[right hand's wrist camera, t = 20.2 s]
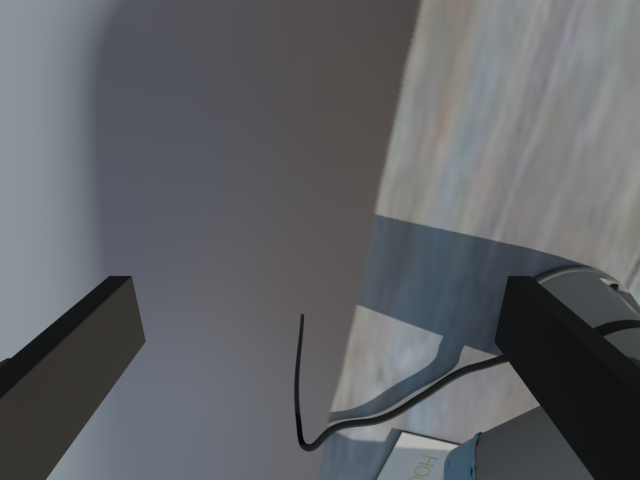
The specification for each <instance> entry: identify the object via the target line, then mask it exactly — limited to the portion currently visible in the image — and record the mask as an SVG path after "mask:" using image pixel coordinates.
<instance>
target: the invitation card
mask: <svg viewBox="0 0 640 480" xmlns="http://www.w3.org/2000/svg"><path fill="white" fill-rule="evenodd" d="M458 446H460V445H457V444H453V443H449V442H445V441H440V440H436V439H432V438H428V437H423V436H419V435H415V434H411V433H406V432H402V433H401V435H400V436H399V438H398V440H397V442H396V444H395V446H394V448H393V449H392V451H391V453H390V455H389V457H388V459H387V461H386V462H385V464H384V466H383V468H382V470H381V472H380V474H379V475H378V477H377V479H376V480H443V477H444V463H445V459H446V457H447V455H448V454H449V453H450V451H451V450H453V449H454V448H456V447H458Z"/></svg>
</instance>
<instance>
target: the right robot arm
mask: <svg viewBox="0 0 640 480" xmlns="http://www.w3.org/2000/svg"><path fill="white" fill-rule="evenodd" d="M303 329H304V314H301V318H300V330H299V339H298V348H297V356H296V366H295V379H294V405H295V417H296V428H297V437H298V442H299V445H300V447H301V448H302V449H304V450H305V451H309V452H310V451H313V450H315V449H317V448H318V447H319V446H320V445H321V444H322V443H323V442H324V441H325V440H326V439H327V438H328V437H329V436H330V435H331V434H333V433H334V432H336V431H339V430H342V429H346V428H352V427H361V426H370V425H376V424H380V423H383V422H386V421H388V420H390V419H393V418H395V417H397V416H399V415H400V414H402V413H404V412H405V411H407V410H409V409H410V408H412V407H413V406H415V405H416V404H418V403H420V402H421V401H423V400H425V399H426V398H428V397H429V396H431V395H433V394H434V393H436V392H437V391H438V390H440V389H441V388H443V387H444V386H446V385H447V384H449V383H450V382H452V381H454V380H456V379H457V378H459V377H461V376H463V375H466V374H468V373H471V372H474V371H478V370H482V369H486V368H489V367H493V366H496V365H499V364H502V363H505V362H508V361H509V362H510V364H511V365H512V367H513V368H514V369H515V371H516V372H517V374H518V375H519V376H520V378H521V379H522V380H523V382H524V383H525V385H526V386H527V387H528V389H529V390H530V391H531V393H532V394H533V396H534V397H535V398H536V400H537V401H538V403H539V404H540V406H538V407H536V408H534V409H532V410H530V411H528V412H526V413H524V414H522V415H520V416H517V417H515V418H513V419H511V420H509V421H507V422H505V423H503V424H501V425H499V426H497V427H494V428H492V429H490V430H488V431H486V432H484V433H482V432H479V433H477V434H475V435H474V437H473V438H472V439H470V440H469V441H467V442H465V443H463V444H461V445H460V446H458V447H456V448H454V449H453V450H451V451H450V453H449V454H448V455H447V457H446V459H445V463H444V477H443V480H640V306H639V304H638V303H637V302H636V300H635V299H634V297H633V296H632V295H631V293H630V292H629V291H628V290H627V289H626V288H625V287H624V286H623V285H622V284H621V283H620V282H618V281H617V280H616V279H614V278H613V277H611V276H609V275H608V274H606V273H604V272H602V271H600V270H598V269H595V268H591V267H585V266H568V267H562V268H557V269H554V270H551V271H548V272H546V273H543V274H541V275H539V276H537V277H535V278H534V279H533V278H532V277H531V276H508V280H507V285H506V290H505V294H504V299H503V304H502V308H501V313H500V318H499V323H498V327H497V332H496V337H495V341H494V342H495V343H496V344H497V346H498V347H499V349H500V350H501V351H502V353H503V354H504V355H501V356H498V357H495V358H492V359H489V360H486V361H483V362H479V363H475V364H471V365H468V366H465V367H463V368H460V369H458V370H456V371H454V372H452V373H451V374H449V375H447V376H446V377H444V378H443V379H441V380H440V381H438V382H437V383H435V384H434V385H432V386H431V387H429V388H428V389H426V390H425V391H423V392H422V393H420V394H418V395H417V396H415V397H414V398H412V399H410V400H409V401H407V402H406V403H404V404H403V405H401V406H400V407H398V408H396V409H394V410H393V411H390V412H388V413H386V414H384V415H381V416H378V417H374V418H368V419H359V420H350V421H345V422H341V423H337V424H335V425H333V426H331V427H329V428H328V429H327V430H325V431H324V432H323V433H322V434H321V435H320V436H319V437H318V438H317V440H316V441H315V442H313V443H312V444H306V443H305V441H304V438H303V432H302V423H301V414H300V403H299V375H300V361H301V350H302V340H303ZM144 343H145V337H144V332H143V327H142V323H141V318H140V313H139V309H138V304H137V299H136V294H135V290H134V285H133V280H132V276H109V277H108V278H107V279H105V280H104V281H103V282H102V283H101V284H99V285H98V286H97V287H96V288H95V289H93V290H92V291H91V292H90V293H89V294H87V295H86V296H85V297H84V298H83V299H82V300H80V301H79V302H78V303H77V304H76V305H74V306H73V307H72V308H71V309H69V310H68V311H67V312H66V313H65V314H64V315H62V316H61V317H60V318H59V319H57V320H56V321H55V322H54V323H53V324H51V325H50V326H49V327H48V328H47V329H46V330H44V331H43V332H42V333H41V334H40V335H38V336H37V337H36V338H35V339H34V340H32V341H31V342H30V343H29V344H28V345H26V346H25V347H24V348H23V349H22V350H20V351H19V352H18V353H17V354H16V355H14V356H13V357H12V358H7V359H5V360H3V361H2V362H0V480H46V479H47V477H48V476H49V474H50V473H51V472H52V470H53V469H54V468H55V466H56V465H57V463H58V462H59V461H60V459H61V458H62V456H63V455H64V454H65V452H66V451H67V450H68V448H69V447H70V445H71V444H72V443H73V441H74V440H75V439H76V437H77V436H78V434H79V433H80V432H81V430H82V429H83V427H84V426H85V425H86V423H87V422H88V421H89V419H90V418H91V416H92V415H93V414H94V412H95V411H96V409H97V408H98V407H99V405H100V404H101V402H102V401H103V400H104V398H105V397H106V396H107V394H108V393H109V391H110V390H111V389H112V387H113V386H114V385H115V383H116V382H117V380H118V379H119V378H120V376H121V375H122V374H123V372H124V371H125V369H126V368H127V367H128V365H129V364H130V362H131V361H132V360H133V358H134V357H135V355H136V354H137V353H138V351H139V350H140V349H141V347H142V346H143V344H144Z"/></svg>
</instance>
